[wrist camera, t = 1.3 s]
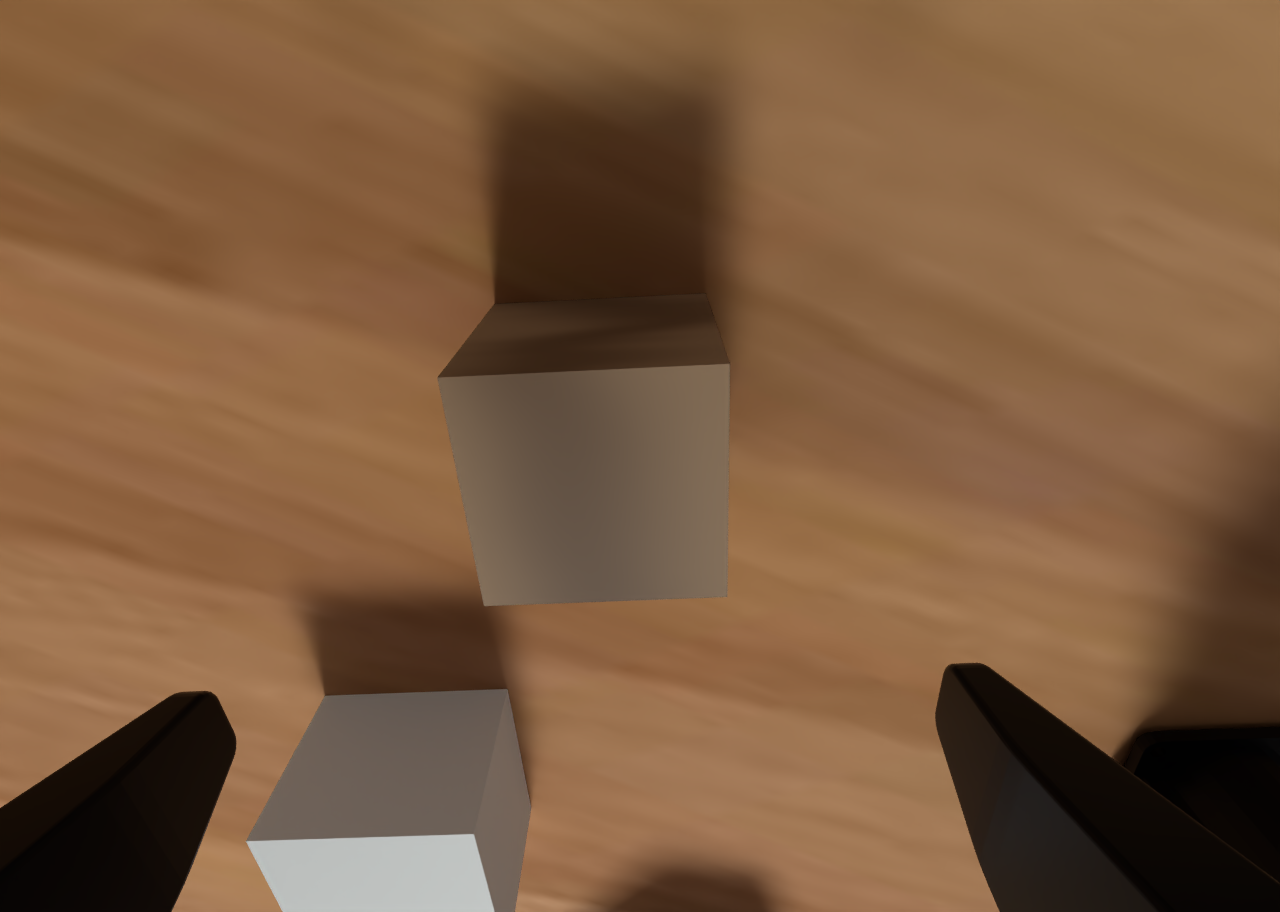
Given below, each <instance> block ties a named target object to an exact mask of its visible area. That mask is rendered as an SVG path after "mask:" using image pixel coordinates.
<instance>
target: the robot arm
mask: <svg viewBox="0 0 1280 912" xmlns="http://www.w3.org/2000/svg"><path fill="white" fill-rule="evenodd" d="M935 719H936V727H937V732H938V735H939V738H940V741H941V745H942V748H943V751H944V754H945V757H946V761H947V764H948V767H949V770H950V773H951V776H952V780H953V783H954V786H955V789H956V792H957V795H958V799H959V802H960V805H961V808H962V811H963V814H964V818H965V821H966V824H967V827H968V830H969V834H970V837H971V840H972V843H973V846H974V849H975V852H976V855H977V858H978V860H979V863H980V866H981V868H982V871H983V873H984V876H985V878H986V881H987V883H988V886H989V888H990V890H991V893H992V895H993V897H994V900H995V902H996V904H997V907H998V909H999V911H1000V912H1280V727H1269V728H1240V729H1211V730H1182V731H1154V732H1148V733H1146V734H1143V735H1142V736H1140V737H1139V738H1138V739H1137V740H1136V742H1135V744H1134V746H1133V748H1132V751H1131V753H1130V756H1129V758H1128V760H1127V763H1126V765H1125V767H1123V766H1122V765H1120V764H1119V763H1118V762H1116V761H1115V760H1114V759H1112V758H1111V757H1110V756H1108V755H1107V754H1106V753H1104V752H1103V751H1101V750H1100V749H1099V748H1097V747H1096V746H1095V745H1093V744H1092V743H1091V742H1089V741H1088V740H1087V739H1085V738H1084V737H1083V736H1081V735H1080V734H1079V733H1077V732H1076V731H1075V730H1073V729H1072V728H1070V727H1069V726H1068V725H1066V724H1065V723H1064V722H1062V721H1061V720H1060V719H1058V718H1057V717H1056V716H1054V715H1053V714H1052V713H1050V712H1049V711H1048V710H1046V709H1045V708H1044V707H1042V706H1041V705H1039V704H1038V703H1037V702H1035V701H1034V700H1033V699H1031V698H1030V697H1029V696H1027V695H1026V694H1025V693H1023V692H1022V691H1021V690H1019V689H1018V688H1017V687H1015V686H1014V685H1013V684H1011V683H1010V682H1009V681H1007V680H1006V679H1004V678H1003V677H1002V676H1000V675H999V674H998V673H996V672H995V671H994V670H992V669H991V668H990V667H988V666H986V665H984V664H981V663H960V664H950V665H948V666H947V667H946V669H945V671H944V674H943V678H942V683H941V688H940V693H939V697H938V702H937V707H936V713H935ZM235 751H236V736H235V733H234V731H233V729H232V727H231V725H230V722H229V720H228V718H227V716H226V714H225V712H224V710H223V708H222V706H221V704H220V702H219V700H218V698H217V696H216V695H214V694H213V693H212V692H208V691H194V692H180V693H176V694H173V695H171V696H170V697H168V698H166V699H165V700H163V701H162V702H160V703H159V704H157V705H156V706H154V707H153V708H151V709H150V710H148V711H147V712H145V713H144V714H142V715H141V716H139V717H138V718H136V719H135V720H133V721H132V722H130V723H128V724H127V725H125V726H124V727H122V728H121V729H119V730H118V731H116V732H115V733H113V734H112V735H110V736H109V737H107V738H106V739H104V740H103V741H101V742H100V743H98V744H97V745H95V746H94V747H92V748H91V749H89V750H88V751H86V752H84V753H83V754H81V755H80V756H78V757H77V758H75V759H74V760H72V761H71V762H69V763H68V764H66V765H65V766H63V767H62V768H60V769H59V770H57V771H56V772H54V773H53V774H51V775H50V776H48V777H47V778H45V779H44V780H42V781H41V782H39V783H37V784H36V785H34V786H33V787H31V788H30V789H28V790H27V791H25V792H24V793H22V794H21V795H19V796H18V797H16V798H15V799H13V800H12V801H10V802H9V803H7V804H6V805H4V806H3V807H1V808H0V912H171V911H172V909H173V907H174V905H175V903H176V901H177V899H178V897H179V895H180V892H181V890H182V888H183V886H184V884H185V881H186V879H187V876H188V874H189V872H190V869H191V867H192V865H193V862H194V860H195V857H196V854H197V852H198V849H199V847H200V844H201V842H202V839H203V836H204V834H205V831H206V829H207V826H208V823H209V821H210V818H211V816H212V813H213V810H214V808H215V805H216V803H217V800H218V798H219V795H220V792H221V790H222V787H223V785H224V782H225V779H226V777H227V774H228V772H229V769H230V766H231V764H232V761H233V759H234V755H235Z"/></svg>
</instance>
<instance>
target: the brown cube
mask: <svg viewBox="0 0 1280 912" xmlns="http://www.w3.org/2000/svg"><path fill="white" fill-rule="evenodd" d="M438 383H439V388H440V393H441V398H442V403H443V408H444V412H445V417H446V422H447V427H448V432H449V437H450V442H451V447H452V452H453V457H454V462H455V466H456V471H457V476H458V481H459V486H460V491H461V496H462V501H463V506H464V511H465V515H466V520H467V525H468V530H469V535H470V540H471V545H472V550H473V555H474V560H475V565H476V569H477V574H478V579H479V584H480V589H481V594H482V599H483V604H484V606H500V605H526V604H552V603H579V602H605V601H631V600H658V599H684V598H711V597H727V578H728V491H729V405H730V362H729V360H728V357H727V354H726V351H725V348H724V345H723V342H722V339H721V336H720V334H719V331H718V328H717V325H716V322H715V319H714V316H713V313H712V310H711V307H710V305H709V302H708V299H707V296H706V293H699V294H680V295H660V296H640V297H621V298H601V299H581V300H562V301H542V302H523V303H503V304H494V305H493V307H492V308H491V309H490V310H489V312H488V313H487V314H486V316H485V317H484V318H483V319H482V321H481V322H480V323H479V325H478V326H477V327H476V328H475V330H474V331H473V332H472V334H471V335H470V336H469V338H468V339H467V340H466V341H465V343H464V344H463V345H462V347H461V348H460V349H459V350H458V352H457V353H456V354H455V356H454V357H453V358H452V359H451V361H450V362H449V363H448V365H447V366H446V367H445V369H444V370H443V371H442V372H441V374H440V375H439V376H438Z"/></svg>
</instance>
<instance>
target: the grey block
mask: <svg viewBox="0 0 1280 912" xmlns="http://www.w3.org/2000/svg"><path fill="white" fill-rule="evenodd" d="M530 813H531V804H530V799H529V794H528V789H527V784H526V779H525V774H524V769H523V764H522V759H521V754H520V749H519V744H518V739H517V734H516V729H515V724H514V719H513V714H512V709H511V704H510V699H509V694H508V689H493V690H466V691H439V692H412V693H385V694H357V695H330V696H325V697H324V699H323V700H322V702H321V704H320V706H319V708H318V710H317V711H316V713H315V715H314V717H313V719H312V721H311V723H310V724H309V726H308V728H307V730H306V732H305V734H304V735H303V737H302V739H301V741H300V743H299V745H298V746H297V748H296V750H295V752H294V754H293V756H292V758H291V759H290V761H289V763H288V765H287V767H286V769H285V770H284V772H283V774H282V776H281V778H280V780H279V781H278V783H277V785H276V787H275V789H274V791H273V792H272V794H271V796H270V798H269V800H268V802H267V804H266V805H265V807H264V809H263V811H262V813H261V815H260V816H259V818H258V820H257V822H256V824H255V826H254V827H253V829H252V831H251V833H250V835H249V837H248V838H247V840H246V842H247V844H248V846H249V848H250V850H251V852H252V854H253V856H254V858H255V859H256V861H257V863H258V865H259V867H260V869H261V871H262V873H263V875H264V877H265V879H266V880H267V882H268V884H269V886H270V888H271V890H272V892H273V894H274V896H275V898H276V900H277V901H278V903H279V905H280V907H281V909H282V911H283V912H515V907H516V901H517V895H518V888H519V882H520V876H521V869H522V863H523V857H524V850H525V844H526V838H527V831H528V825H529V819H530Z"/></svg>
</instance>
